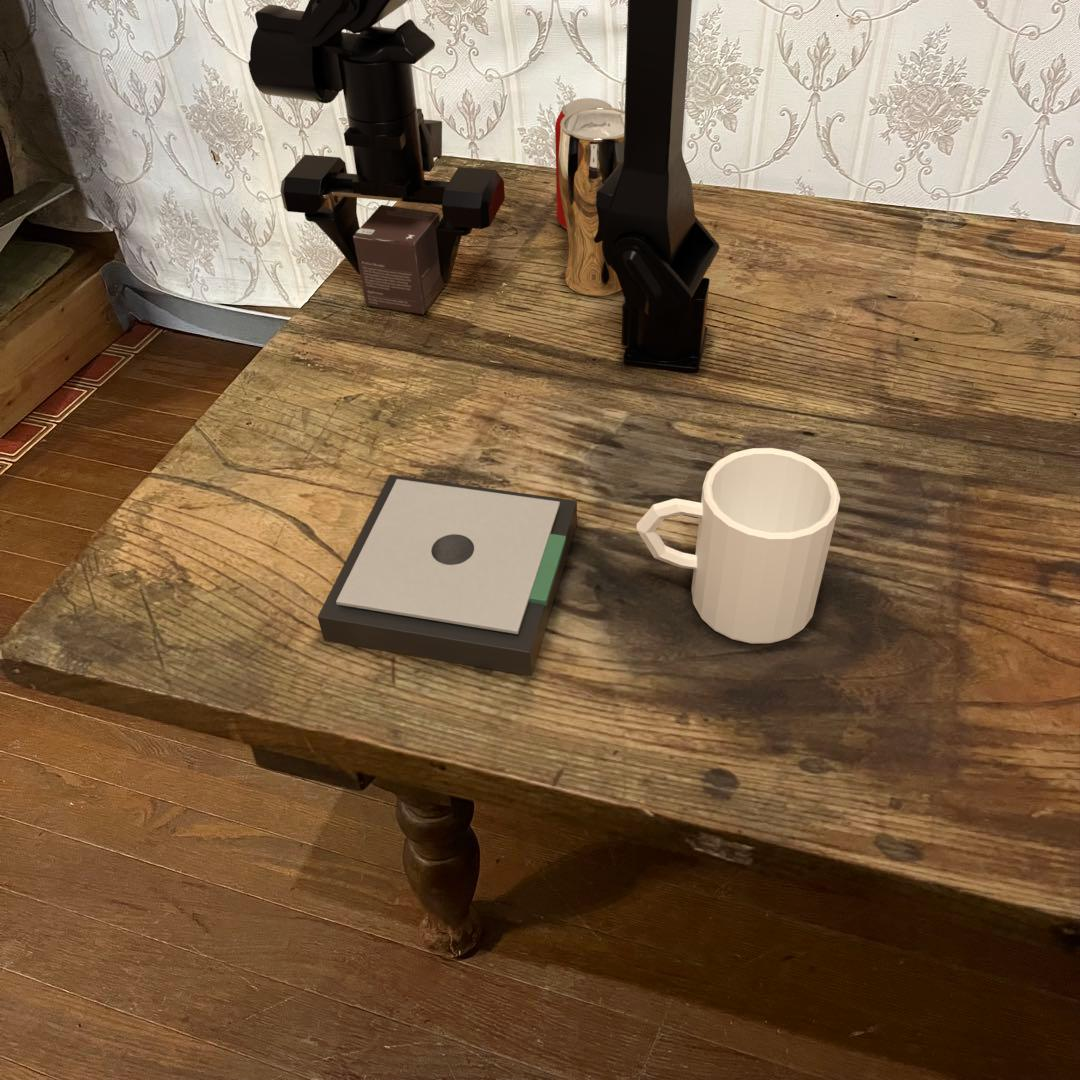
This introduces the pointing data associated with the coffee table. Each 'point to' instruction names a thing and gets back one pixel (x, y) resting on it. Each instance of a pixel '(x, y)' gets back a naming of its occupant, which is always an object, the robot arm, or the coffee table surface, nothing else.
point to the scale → (453, 574)
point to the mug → (754, 542)
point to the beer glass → (588, 192)
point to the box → (399, 259)
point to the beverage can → (565, 110)
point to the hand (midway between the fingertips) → (404, 277)
